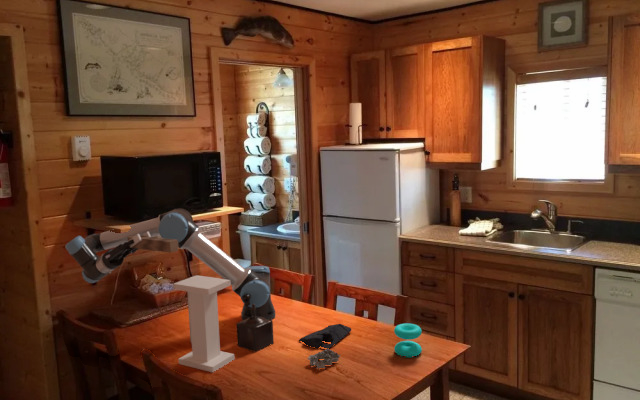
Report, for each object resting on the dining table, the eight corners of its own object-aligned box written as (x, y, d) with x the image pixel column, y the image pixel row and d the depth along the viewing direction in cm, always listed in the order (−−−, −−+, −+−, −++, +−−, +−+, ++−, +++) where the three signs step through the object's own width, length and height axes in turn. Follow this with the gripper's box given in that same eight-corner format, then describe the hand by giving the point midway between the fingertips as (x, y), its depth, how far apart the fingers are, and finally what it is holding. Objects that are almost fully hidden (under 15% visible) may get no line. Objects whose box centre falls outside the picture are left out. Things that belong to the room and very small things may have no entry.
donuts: (410, 320, 207) (427, 328, 198) (410, 345, 208) (427, 354, 200) (388, 325, 202) (404, 334, 194) (389, 351, 204) (405, 361, 195)
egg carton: (319, 372, 189) (319, 361, 188) (306, 365, 194) (305, 354, 194) (342, 363, 195) (342, 352, 195) (328, 356, 201) (328, 346, 201)
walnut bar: (128, 247, 209) (127, 237, 208) (136, 245, 212) (135, 235, 212) (170, 252, 198) (170, 241, 198) (178, 250, 202) (177, 239, 201)
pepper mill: (275, 342, 215) (274, 298, 212) (255, 352, 206) (253, 306, 204) (248, 334, 224) (246, 291, 222) (227, 342, 216) (225, 299, 213)
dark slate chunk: (358, 334, 222) (357, 323, 221) (325, 353, 205) (324, 341, 204) (328, 327, 231) (327, 316, 231) (294, 344, 214) (293, 332, 213)
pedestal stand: (178, 363, 198) (173, 283, 194) (201, 351, 208) (196, 275, 204) (213, 372, 190) (208, 289, 186) (234, 359, 201) (230, 280, 196)
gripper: (131, 264, 225) (165, 240, 213) (96, 274, 210) (130, 249, 199) (123, 247, 226) (157, 223, 214) (88, 257, 211) (122, 231, 200)
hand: (144, 235), depth 206 cm, fingers closed on walnut bar, 4 cm apart
